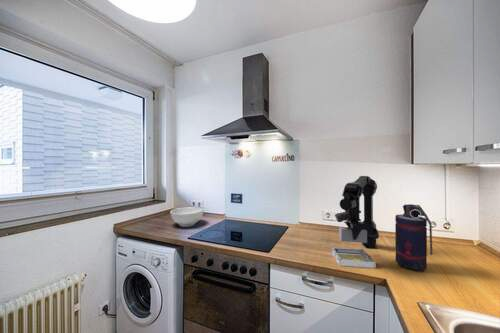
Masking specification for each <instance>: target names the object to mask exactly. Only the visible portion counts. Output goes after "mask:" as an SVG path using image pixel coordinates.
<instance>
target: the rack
mask: <svg viewBox="0 0 500 333" xmlns="http://www.w3.org/2000/svg"><path fill="white" fill-rule="evenodd" d="M330 253H331V255H332V256H333V258H334V259H335V260H336V263H337V264H338V266H340V267H353V268H366V269H376V268H377V262H376V261H375V260H374V259H373V258H372V257H371V256H370V255H369V254H368V253H367V252H366V251H365V250H364V249H361V248H349V247H348V248H347V247H345V248H344V247H331V252H330Z"/></svg>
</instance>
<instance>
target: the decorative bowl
mask: <svg viewBox="0 0 500 333" xmlns="http://www.w3.org/2000/svg"><path fill="white" fill-rule="evenodd" d="M204 211H205V209H204V208H203V207H198V206H197V207H196V206H186V207H178V208H174V209H172V210H170V211H169V212H170V217H171V218H172V220H173V221H174V223H176V224H178V225H179V226H180V227H182V228H188V227H189V228H190V227H193V226H195V225H196V223H198V222H199V221H200V220H201V219H202V216H203V214H204Z"/></svg>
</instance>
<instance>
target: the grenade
mask: <svg viewBox="0 0 500 333" xmlns="http://www.w3.org/2000/svg"><path fill="white" fill-rule="evenodd" d="M402 208H403V214H396V215H395V218H394V220H395V221H394V222H395V225H394V226H395V232H394V234H395V239H394V240H395V247H394V248H395V262H396V263H397V265H398V266H399V267H401V268H403V267H405V268H408V269H410V270H415V271H416V272H418V273H422V272H423V270H427V266H428V263H427V260H428V258H427V257H428V249H427V248H428V242H427V241H428V232H427V231H428V229H427V227H428V224H429V227H428V228H429V249H430V250H429V252H430V256H432V255H433V230H432V228H433V227H432V222H431V220H430V218H429V217H428V215H427V214H426V212H425V211H424V209H423V208H422V207H421V205H419V204H412V203H411V204H404V205H402Z"/></svg>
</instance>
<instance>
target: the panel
mask: <svg viewBox="0 0 500 333" xmlns="http://www.w3.org/2000/svg"><path fill="white" fill-rule="evenodd" d="M338 230H339V231H338V233H339V234H338V239H339V240H340V241H341V242H346V243H360V244H362V243H367V231H366V230H362V231H361V232H360V234H359V235H358V237H357V239H356V240H353V235H352V229H351V228H348V227H344V226H342V227H341V226H339V227H338Z"/></svg>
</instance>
